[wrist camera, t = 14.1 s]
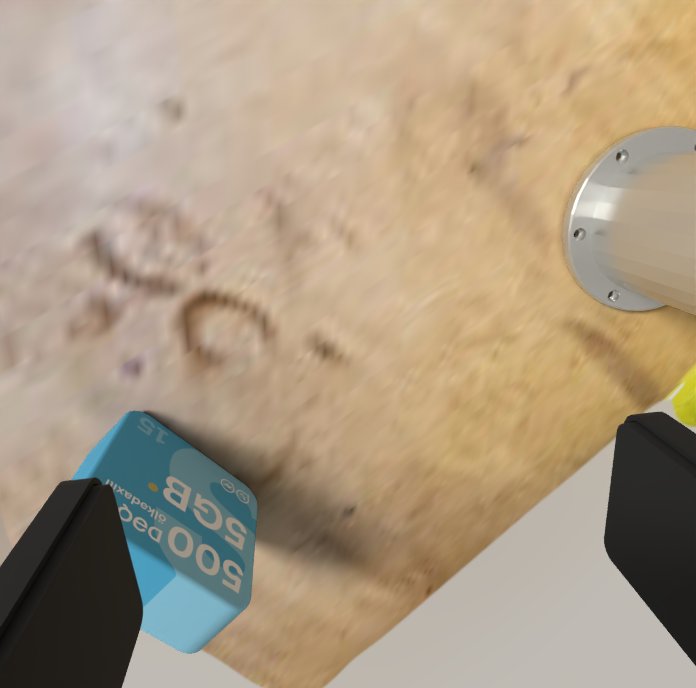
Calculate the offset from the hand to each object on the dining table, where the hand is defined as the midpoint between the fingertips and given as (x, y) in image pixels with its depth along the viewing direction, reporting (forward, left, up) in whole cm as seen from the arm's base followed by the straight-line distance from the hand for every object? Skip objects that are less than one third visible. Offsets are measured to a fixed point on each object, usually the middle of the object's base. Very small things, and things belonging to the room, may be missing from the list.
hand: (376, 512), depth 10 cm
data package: (+12, +15, -28) cm, 34 cm away
